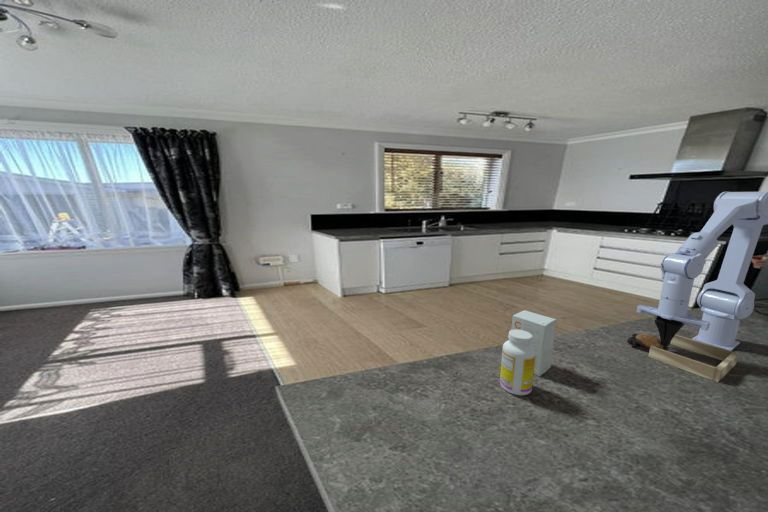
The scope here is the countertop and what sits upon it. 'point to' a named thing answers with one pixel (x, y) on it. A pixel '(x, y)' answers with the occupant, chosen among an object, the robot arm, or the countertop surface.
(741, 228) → the robot arm
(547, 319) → the small box
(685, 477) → the countertop surface
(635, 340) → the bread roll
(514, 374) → the supplement bottle
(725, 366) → the frame
